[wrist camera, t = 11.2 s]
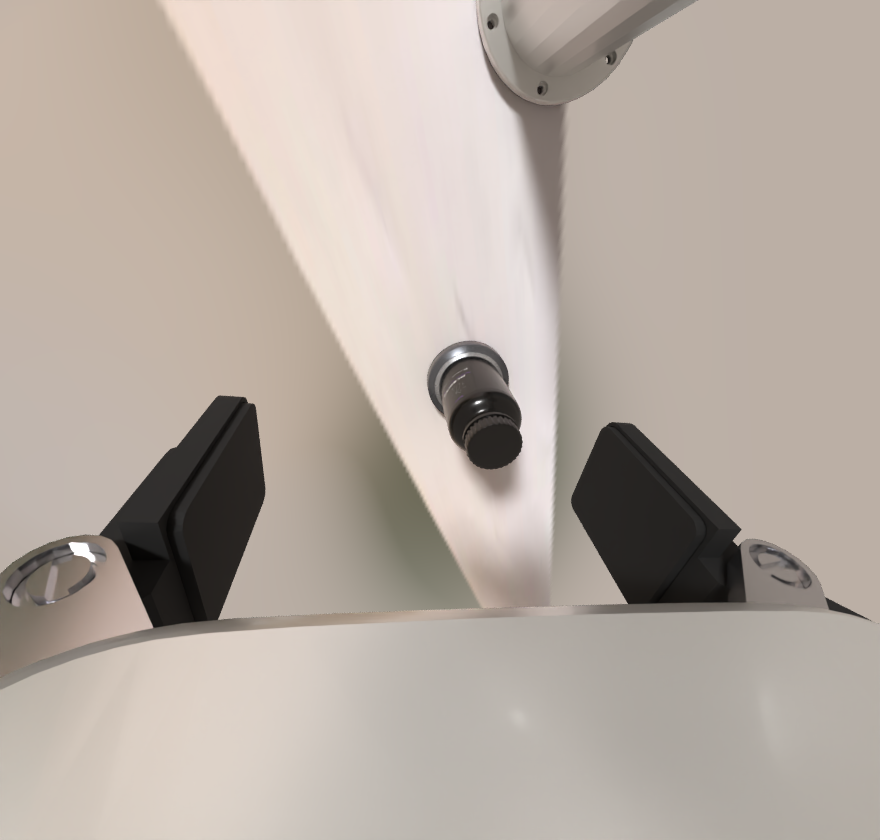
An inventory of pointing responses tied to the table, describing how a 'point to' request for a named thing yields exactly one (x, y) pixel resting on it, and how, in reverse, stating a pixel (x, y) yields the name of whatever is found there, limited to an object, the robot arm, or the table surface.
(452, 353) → the plate
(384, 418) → the table surface
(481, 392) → the supplement bottle
